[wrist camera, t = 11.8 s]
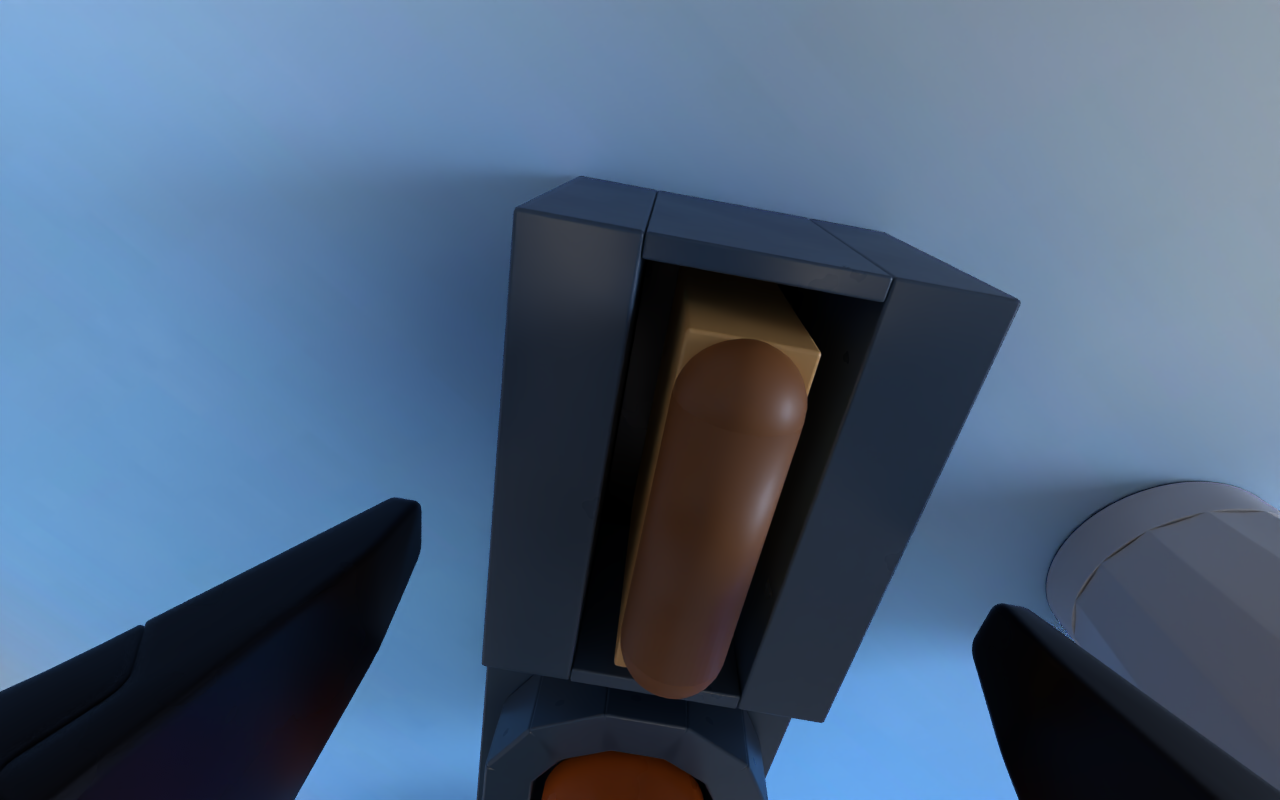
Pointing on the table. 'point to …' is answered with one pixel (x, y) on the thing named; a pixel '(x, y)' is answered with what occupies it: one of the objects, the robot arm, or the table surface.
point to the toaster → (620, 410)
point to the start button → (619, 779)
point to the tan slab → (710, 474)
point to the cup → (1185, 608)
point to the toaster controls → (617, 735)
